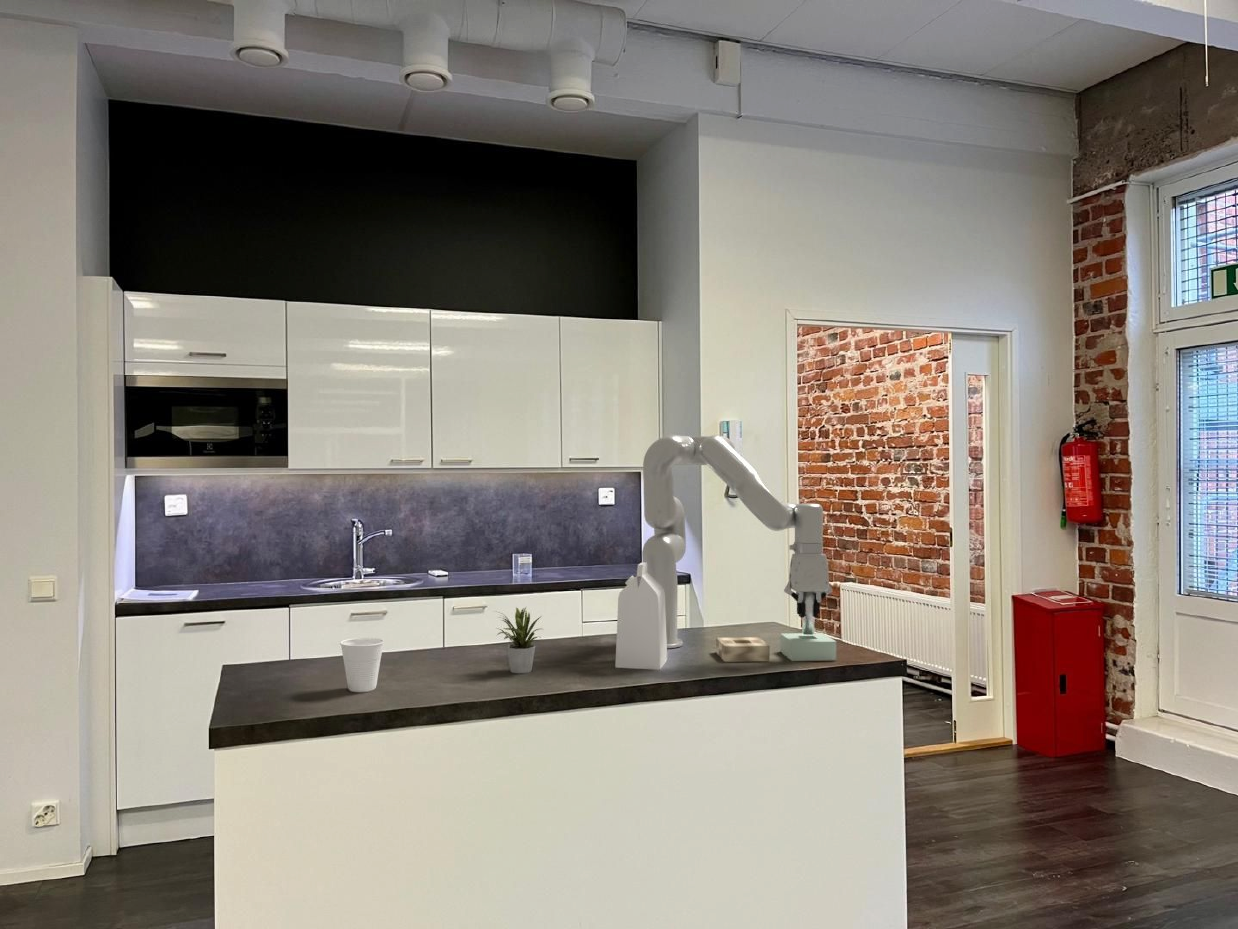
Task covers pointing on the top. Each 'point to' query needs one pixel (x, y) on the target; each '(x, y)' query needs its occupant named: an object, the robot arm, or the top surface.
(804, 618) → the pin
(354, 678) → the cup
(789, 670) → the top surface
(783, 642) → the socket
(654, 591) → the milk
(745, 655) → the mount
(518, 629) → the house plant
